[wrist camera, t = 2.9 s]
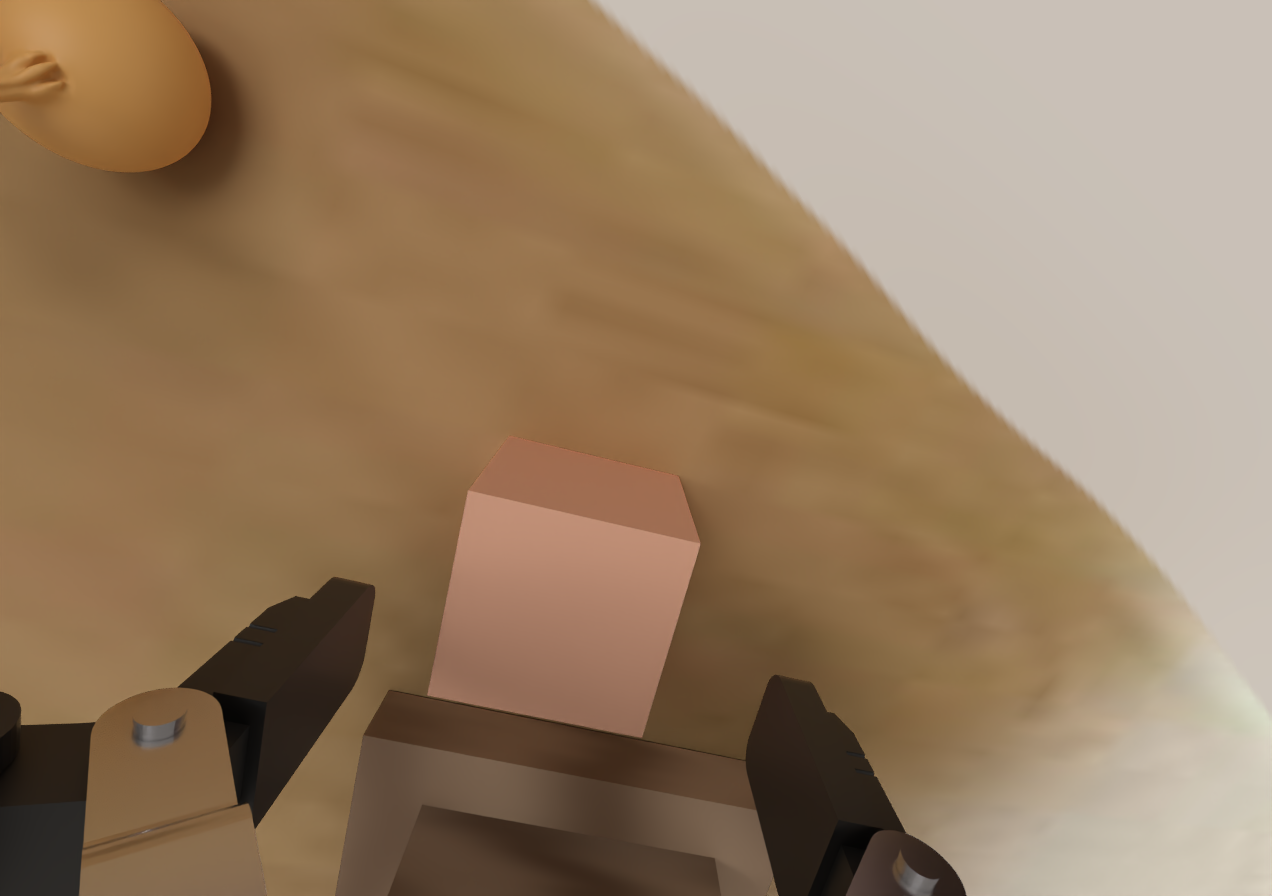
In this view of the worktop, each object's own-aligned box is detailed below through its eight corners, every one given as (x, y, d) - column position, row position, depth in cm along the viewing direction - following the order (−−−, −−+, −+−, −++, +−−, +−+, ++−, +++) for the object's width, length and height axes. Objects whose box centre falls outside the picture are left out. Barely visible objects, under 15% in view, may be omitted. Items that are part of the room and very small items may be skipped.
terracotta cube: (477, 590, 19) (427, 695, 14) (509, 435, 17) (467, 490, 13) (636, 624, 19) (642, 737, 14) (678, 474, 18) (700, 543, 13)
